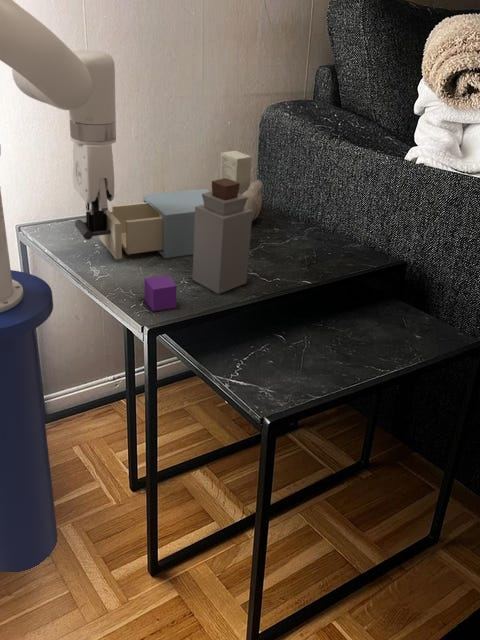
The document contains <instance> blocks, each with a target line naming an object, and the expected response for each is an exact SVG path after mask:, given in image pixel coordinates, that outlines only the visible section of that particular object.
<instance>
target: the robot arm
mask: <svg viewBox="0 0 480 640" xmlns="http://www.w3.org/2000/svg"><path fill="white" fill-rule="evenodd" d="M0 61H1V62H2V63H3V64H5V65H7V66H8V67H9V68H11V71H12V72H11V73H12V79H13V81H14V83H15V85H16V87H17V88H18V89H19V90H20V92H21V93H22V94H24V95H26V96H27V97H29V98H31V99H33V100H36V101H37V102H38V101H39V102H41V103H44V104H47V105H49V106H52V107H54V108H56V109H59V110H62V111H68V112H69V113H68V114H69V116H68V117H69V134H70V136H69V137H70V141H71V142H73V146H72V149H73V150H72V152H73V153H72V178H73V179H72V181H73V182H72V183H73V188H74V190H75V191H76V192H77V194H78V195H79V196H80V197H81V198H82V200H83V201H84V202H85V210H86V212H85V215H86V216H85V218H86V219H85V222H87V227H88V229H89V230H90V231H91V232H97V231H106V230H107V228H106V211H107V210H109V206H108V202H112V201H113V200H114V199H115V169H114V168H115V167H114V155H113V146H112V145H113V144H115V143H116V141H117V121H116V120H117V119H116V114H117V113H116V69H115V68H116V67H115V61H114V58H113V57H112V55H111V54H108V53H107V52H102V51H97V50H74V51H72V49H71V48H69V47H68V46H67V44H66V43H65V42H64V41H63V40H62V39H61V38H59V37H58V36H57V35H56V34H55V33H54V32H53V31H52V30H51V29H49V27H47V26H46V25H45V24H44V23H43V22H41V21H40V20H38V19H37V18H36V17H35V16H33V15H32V14H31V13H29V11H27V10H25V8H23V7H21V6H20V5H19V4H18V3H17V2H16V1H14V0H0ZM1 151H2V149H1V145H0V155H1ZM3 206H4V205H3V199H2V189H1V187H0V313H1V312H4V311H7V310H9V309H11V308H13V307H14V306H16V305H17V304H18V303H19V302H20V301H21V300H22V298H23V294H24V293H23V287H22V286H21V284H19V283H18V282H17V281H15V280H13V279H12V276H11V270H12V269H11V261H10V253H9V244H8V237H7V230H6V220H5V214H4V213H5V212H4V207H3Z"/></svg>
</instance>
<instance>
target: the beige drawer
mask: <svg viewBox="0 0 480 640" xmlns="http://www.w3.org/2000/svg"><path fill="white" fill-rule="evenodd" d="M163 220H164V218H163V217H162V216H161V215H160V214H159V213H158V212H157V211H156V210H155V209H154V208H153V207H152V206H151V205H149V204H148V203H147V202H143V201H142V202H134V203H124V204H116V205H115V204H113V205H111V210H110V209H108V210H107V211H106V228H107V230H106V231H97V232H91V231H90V230H89V229H88V227H87V221H83V220H82V219H76V221H75V222H74V226H75V227H76V229H77V231H78V232H79V233H80V234H81V236H82V237H83V238H84V240H86V241H87V240H88V241H89V240H91V239H92V238H93V237H97V236H98V239H99V240H100V241H101V242H102V244H103V245H104V246H105V248H106V249H107V250H108V251H109V253H110V254H111V255H112V256H113V257H114V259H115V260H120V259H123V250H124V252H125V254H127V255H134V254H141V253H148V252H155V251H157V250H163ZM157 252H158V251H157Z"/></svg>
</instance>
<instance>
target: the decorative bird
mask: <svg viewBox="0 0 480 640" xmlns="http://www.w3.org/2000/svg"><path fill="white" fill-rule="evenodd" d="M262 187H263V182H262V181H261V180H260V179H255V180H253V181H251V182H250V186H249V188H248V189H246V190H244V191H242V192H241V195H244V196H246V197H248V199H247V201H246V204H245V208H247V209H250V210H252V211H253V213H252V222H253V221H255V220H256V219H257V218H258V216H259V215H260V214H261V212H262V211H263V213H266V210H265V209H264V206H263V203H264V200H263V191H262Z"/></svg>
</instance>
